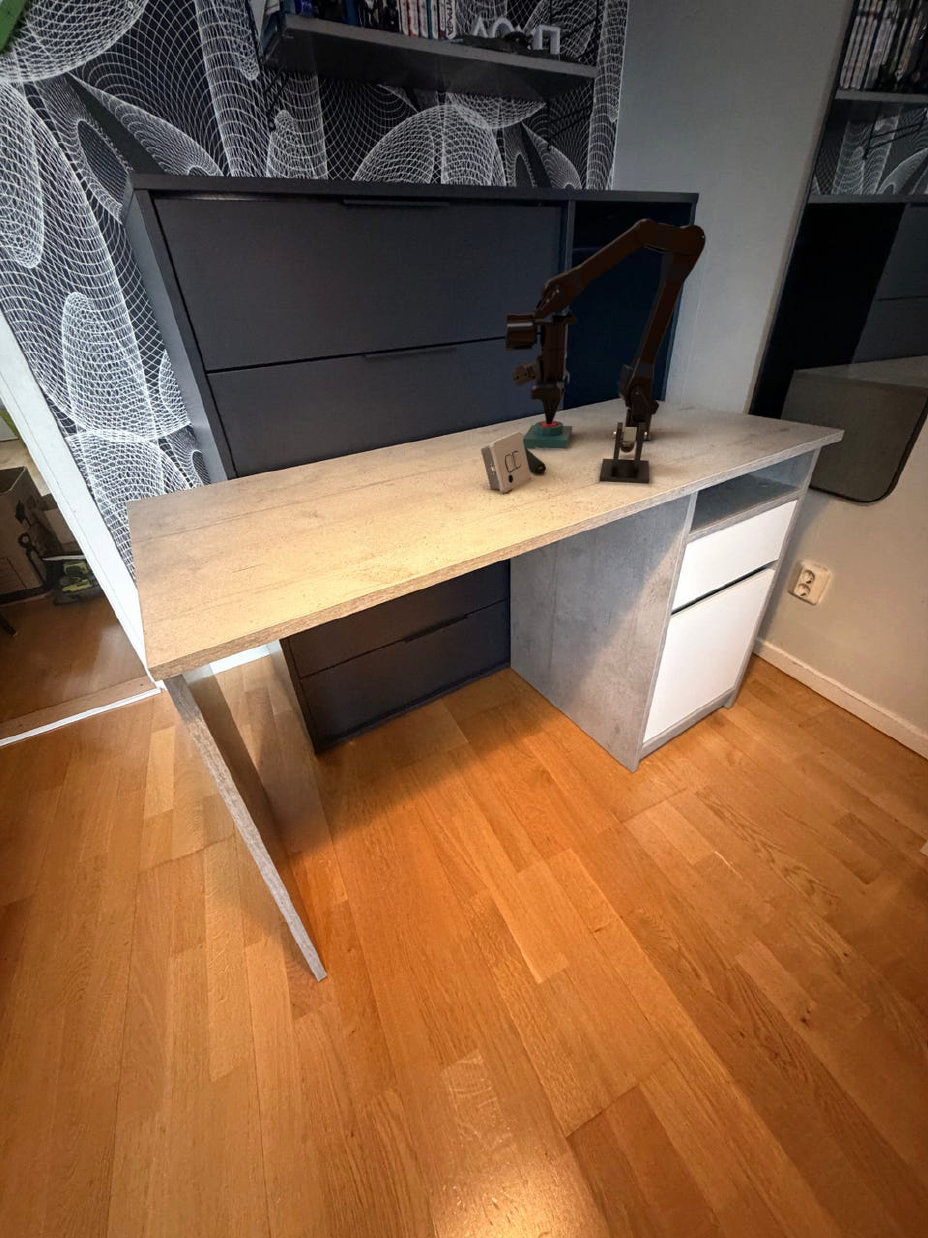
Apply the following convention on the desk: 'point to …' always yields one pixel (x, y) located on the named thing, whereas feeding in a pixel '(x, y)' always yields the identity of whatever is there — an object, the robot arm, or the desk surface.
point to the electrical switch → (506, 462)
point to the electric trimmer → (534, 462)
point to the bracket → (626, 462)
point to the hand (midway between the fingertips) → (549, 423)
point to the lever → (628, 439)
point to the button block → (547, 436)
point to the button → (549, 424)
